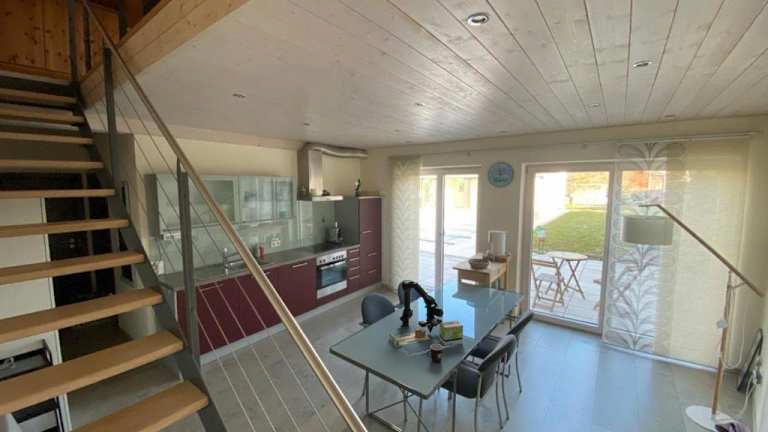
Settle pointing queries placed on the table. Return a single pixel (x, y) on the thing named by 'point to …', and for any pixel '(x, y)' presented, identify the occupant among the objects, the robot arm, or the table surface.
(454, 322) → the tea box
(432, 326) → the robot arm
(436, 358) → the coffee mug
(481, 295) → the table surface
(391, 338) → the trap board
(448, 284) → the table surface
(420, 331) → the walnut block
